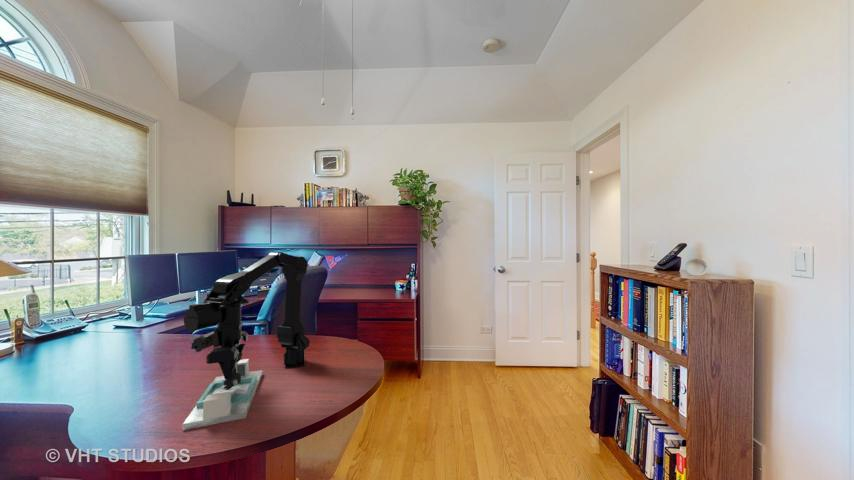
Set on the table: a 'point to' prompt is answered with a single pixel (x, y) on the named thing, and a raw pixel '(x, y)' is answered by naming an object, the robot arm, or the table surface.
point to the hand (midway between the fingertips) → (229, 375)
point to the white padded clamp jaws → (222, 397)
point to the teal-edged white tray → (239, 401)
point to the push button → (232, 377)
